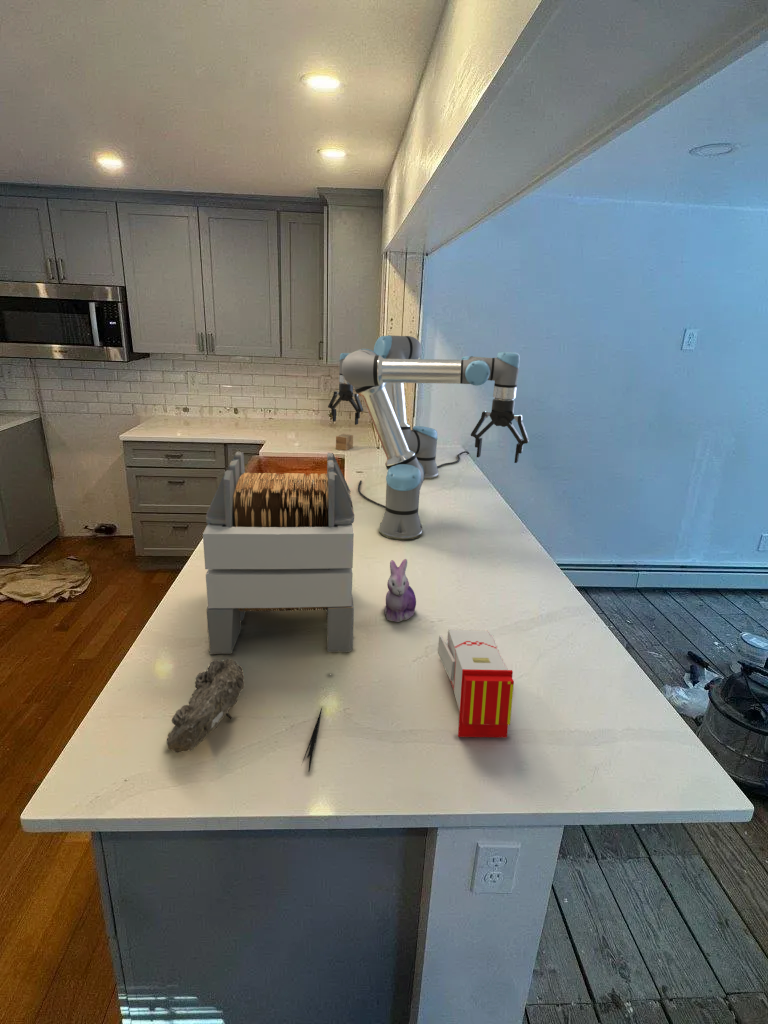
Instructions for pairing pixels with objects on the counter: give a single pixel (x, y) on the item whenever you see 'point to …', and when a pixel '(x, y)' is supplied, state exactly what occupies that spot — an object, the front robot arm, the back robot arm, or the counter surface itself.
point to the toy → (478, 682)
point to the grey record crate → (279, 550)
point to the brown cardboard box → (344, 442)
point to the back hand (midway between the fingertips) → (345, 422)
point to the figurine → (399, 594)
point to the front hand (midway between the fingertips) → (497, 459)
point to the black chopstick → (313, 740)
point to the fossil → (206, 705)
